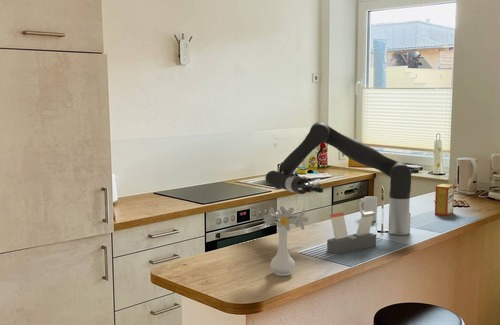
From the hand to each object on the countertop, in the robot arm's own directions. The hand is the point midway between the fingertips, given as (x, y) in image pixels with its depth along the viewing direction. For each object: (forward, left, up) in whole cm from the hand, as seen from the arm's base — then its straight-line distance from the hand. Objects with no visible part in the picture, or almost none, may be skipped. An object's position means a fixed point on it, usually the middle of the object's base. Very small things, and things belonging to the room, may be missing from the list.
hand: (321, 190), depth 249 cm
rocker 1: (0, +13, -19) cm, 23 cm away
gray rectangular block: (-6, +13, -24) cm, 28 cm away
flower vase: (+38, +22, -24) cm, 50 cm away
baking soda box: (-94, -7, -24) cm, 97 cm away
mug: (-50, -21, -24) cm, 59 cm away
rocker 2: (-12, +13, -19) cm, 26 cm away
